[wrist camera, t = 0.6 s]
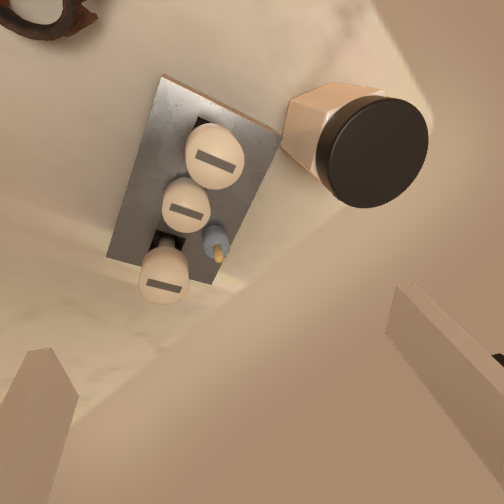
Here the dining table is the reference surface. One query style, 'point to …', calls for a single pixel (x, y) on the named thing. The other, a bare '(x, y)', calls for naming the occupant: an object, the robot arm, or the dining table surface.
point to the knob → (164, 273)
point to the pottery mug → (66, 25)
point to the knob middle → (185, 205)
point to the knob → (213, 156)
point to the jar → (356, 142)
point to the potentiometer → (215, 242)
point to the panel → (174, 165)
